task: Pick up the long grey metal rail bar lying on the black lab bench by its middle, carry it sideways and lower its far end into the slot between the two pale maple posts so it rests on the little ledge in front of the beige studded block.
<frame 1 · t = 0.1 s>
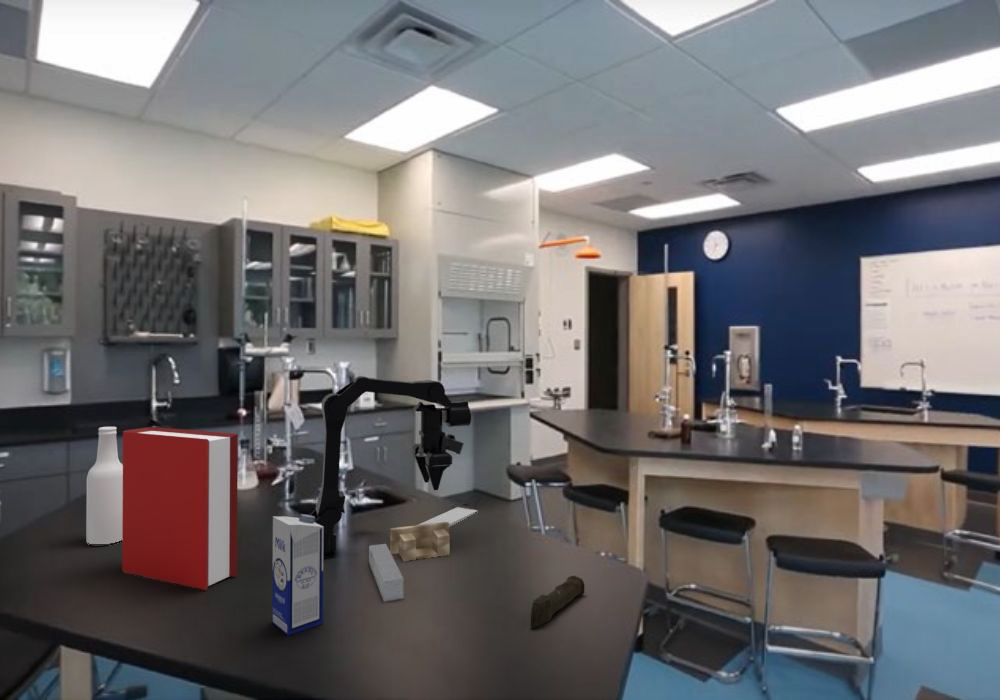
hand: (431, 486, 152), 15 cm above the countertop, tool pointing down, fingers open, 9 cm apart
book: (176, 575, 129), on the countertop
milk carton: (297, 623, 106), on the countertop
dark brown lumpy bar: (558, 612, 112), on the countertop
beige studded block: (424, 554, 142), on the countertop
baseboard: (436, 526, 167), on the countertop
rail: (384, 581, 127), on the countertop
alcohol: (106, 542, 150), on the countertop
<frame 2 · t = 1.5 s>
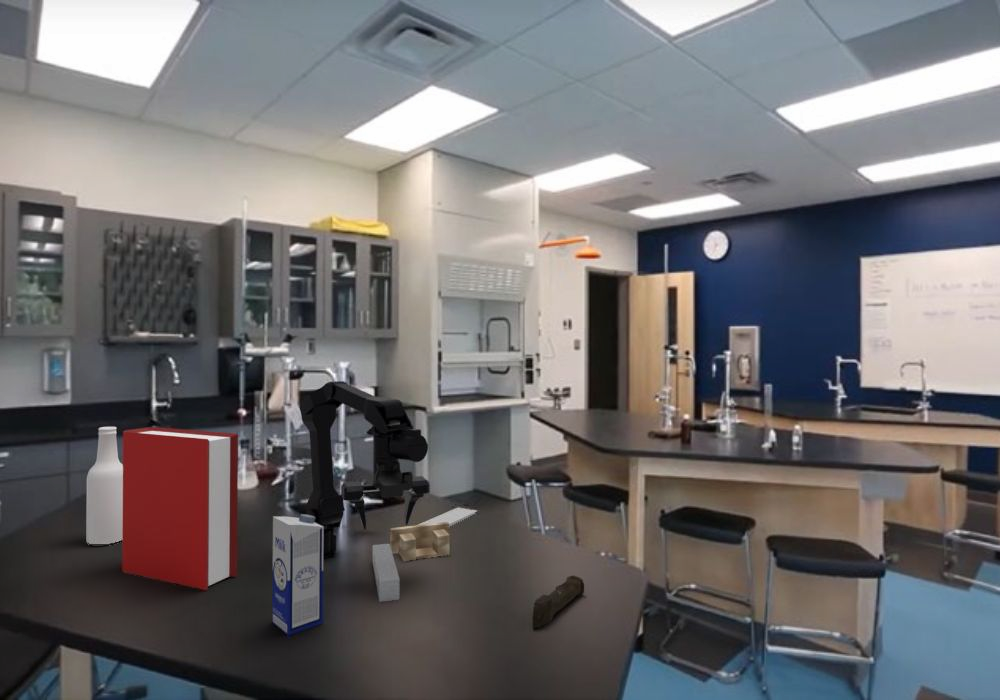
hand: (385, 526, 127), 12 cm above the countertop, tool pointing down, fingers open, 9 cm apart
nothing on the countertop moved.
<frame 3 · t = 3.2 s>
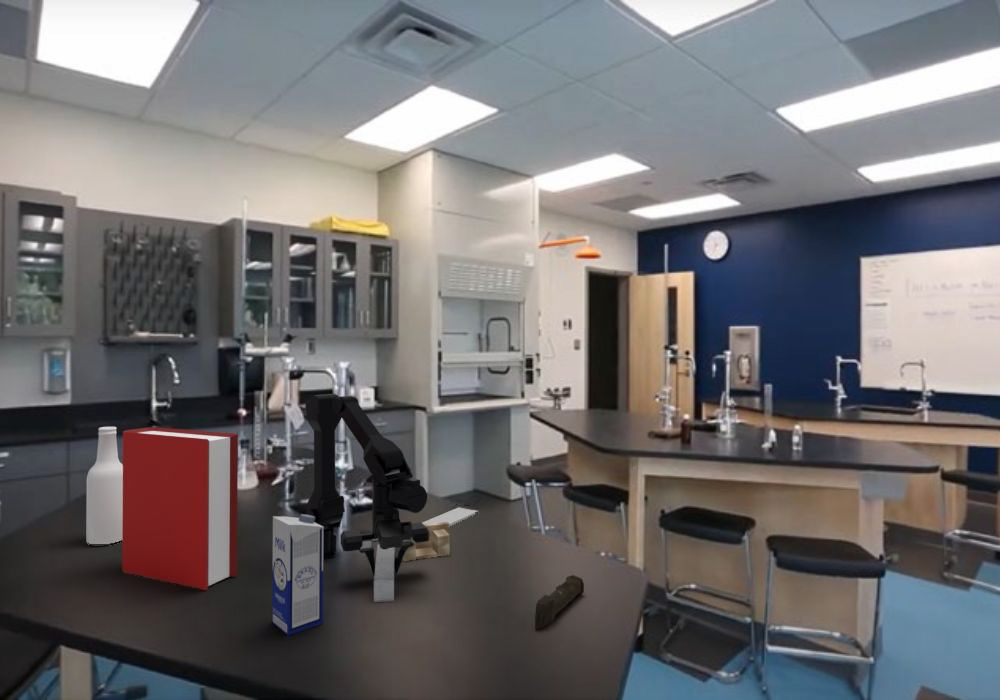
hand: (385, 574, 127), 1 cm above the countertop, tool pointing down, fingers closed on rail, 4 cm apart
rail: (384, 580, 127), on the countertop, touching gripper
everything else where it was.
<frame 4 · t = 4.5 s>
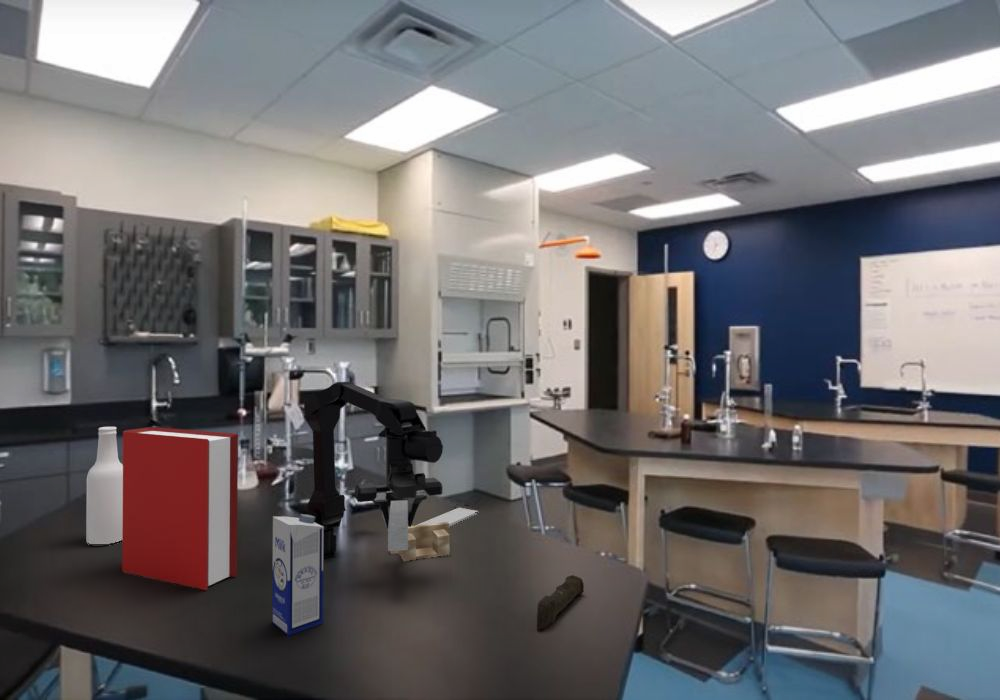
hand: (398, 527, 128), 11 cm above the countertop, tool pointing down, fingers closed on rail, 4 cm apart
rail: (398, 533, 127), point 10 cm above the countertop, touching gripper
everything else where it was.
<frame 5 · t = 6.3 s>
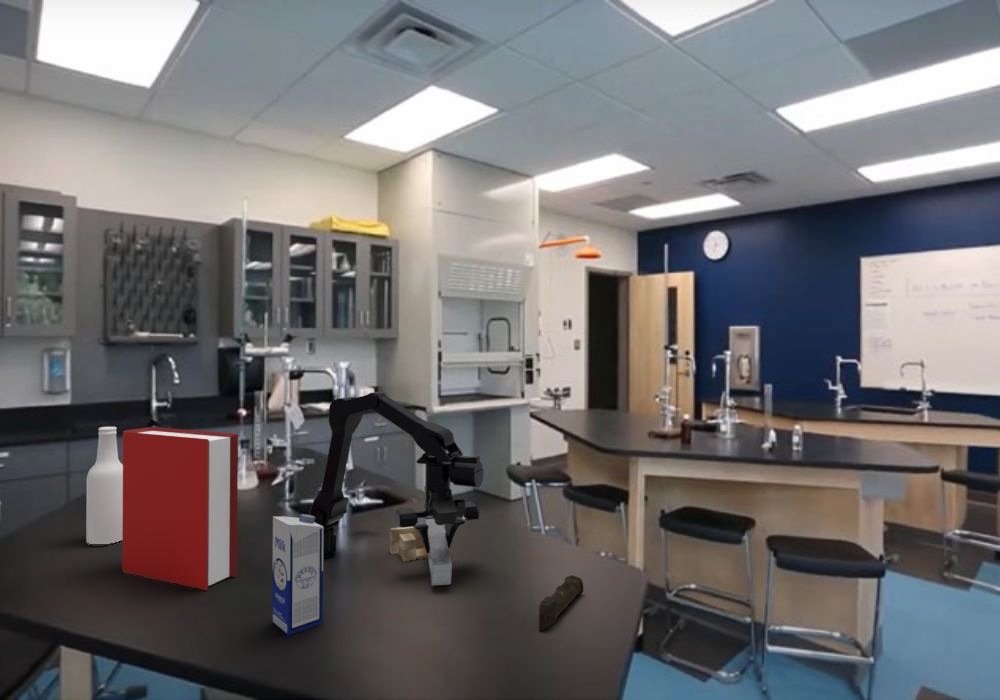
hand: (437, 551, 131), 5 cm above the countertop, tool pointing down, fingers closed on rail, 4 cm apart
rail: (436, 557, 131), point 3 cm above the countertop, tilted 11°, touching gripper
everything else where it was.
when the fingers open (3 cm above the countertop, at t = 7.1 s): rail stays where it is, resting on beige studded block.
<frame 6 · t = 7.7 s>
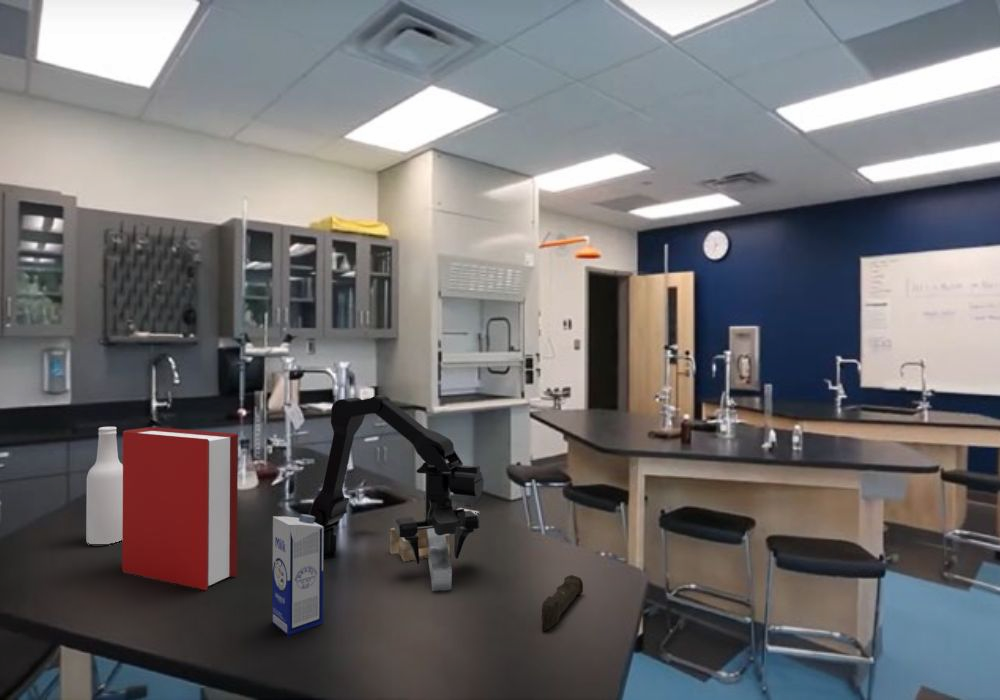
hand: (437, 560, 131), 3 cm above the countertop, tool pointing down, fingers open, 9 cm apart
rail: (437, 559, 132), point 3 cm above the countertop, tilted 14°, touching beige studded block
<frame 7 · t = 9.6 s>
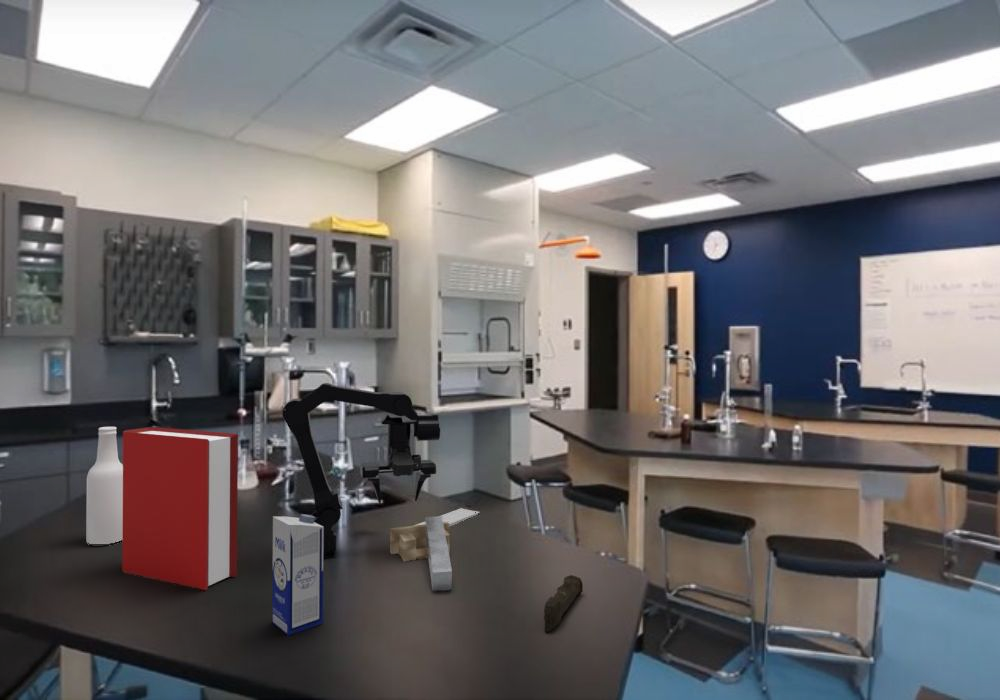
hand: (397, 502, 147), 12 cm above the countertop, tool pointing down, fingers open, 9 cm apart
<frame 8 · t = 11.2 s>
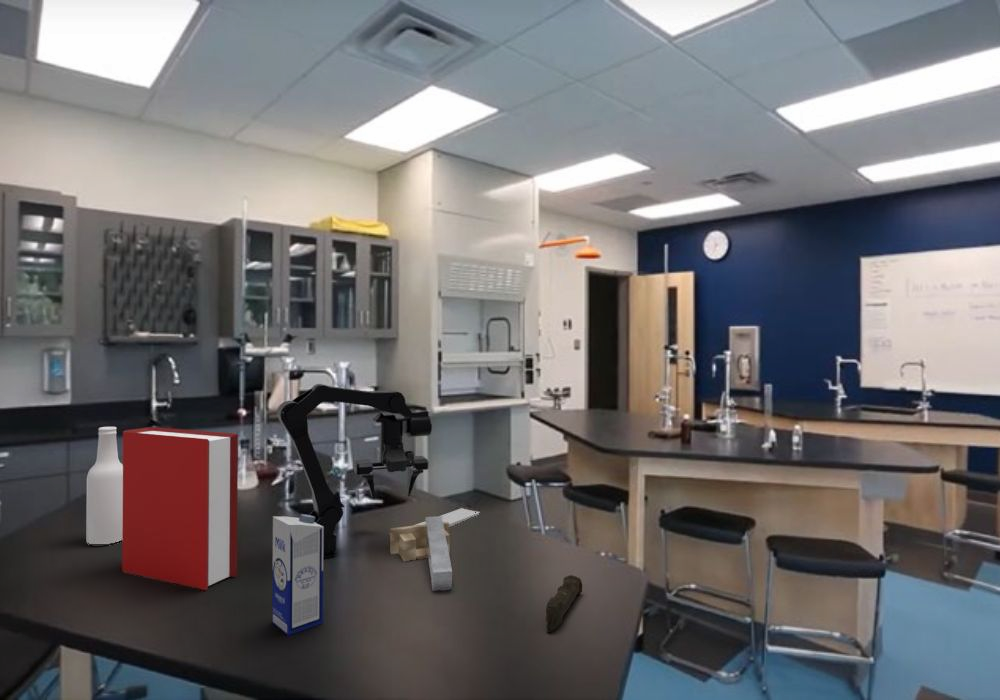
hand: (391, 497, 150), 12 cm above the countertop, tool pointing down, fingers open, 9 cm apart
at the end: rail 0.4 cm from the target spot, point 2.7 cm above the countertop; the gripper is holding nothing; rail tilted 14° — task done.
